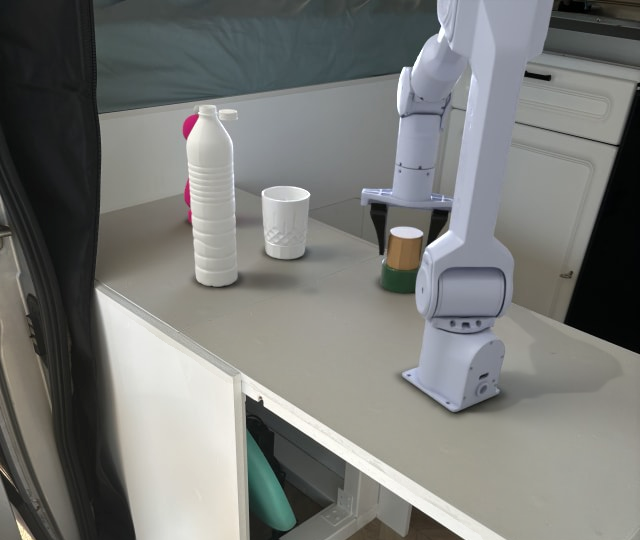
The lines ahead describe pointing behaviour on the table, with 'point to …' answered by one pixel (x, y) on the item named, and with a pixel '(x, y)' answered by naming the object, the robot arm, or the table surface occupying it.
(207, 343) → the table surface
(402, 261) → the wooden drum
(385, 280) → the green stepped peg base
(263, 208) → the white cup
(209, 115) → the water bottle
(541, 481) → the table surface
